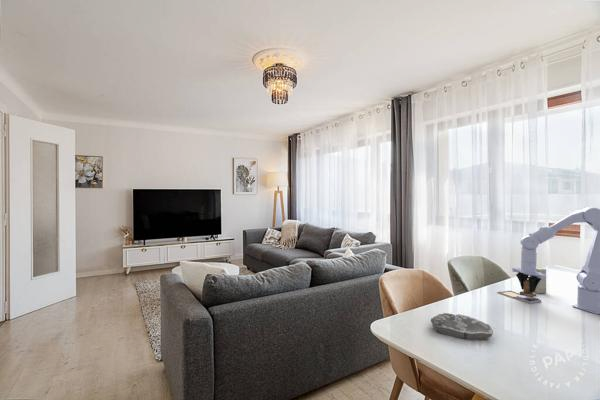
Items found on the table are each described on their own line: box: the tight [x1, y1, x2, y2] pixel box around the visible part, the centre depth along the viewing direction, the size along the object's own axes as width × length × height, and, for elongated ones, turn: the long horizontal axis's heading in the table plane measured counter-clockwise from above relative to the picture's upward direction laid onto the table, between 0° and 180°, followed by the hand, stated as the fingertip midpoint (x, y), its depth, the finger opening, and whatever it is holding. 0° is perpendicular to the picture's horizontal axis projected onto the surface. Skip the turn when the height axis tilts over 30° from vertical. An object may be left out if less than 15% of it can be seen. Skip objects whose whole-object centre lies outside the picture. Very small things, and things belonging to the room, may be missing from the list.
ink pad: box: [515, 295, 542, 304], centre depth 142 cm, size 7×7×1 cm
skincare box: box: [528, 266, 547, 294], centre depth 156 cm, size 6×4×12 cm
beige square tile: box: [496, 290, 521, 300], centre depth 150 cm, size 9×9×1 cm
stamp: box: [519, 280, 537, 298], centre depth 142 cm, size 4×4×7 cm
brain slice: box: [430, 312, 494, 341], centre depth 110 cm, size 20×17×3 cm
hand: (528, 290), depth 142 cm, fingers closed on stamp, 3 cm apart
